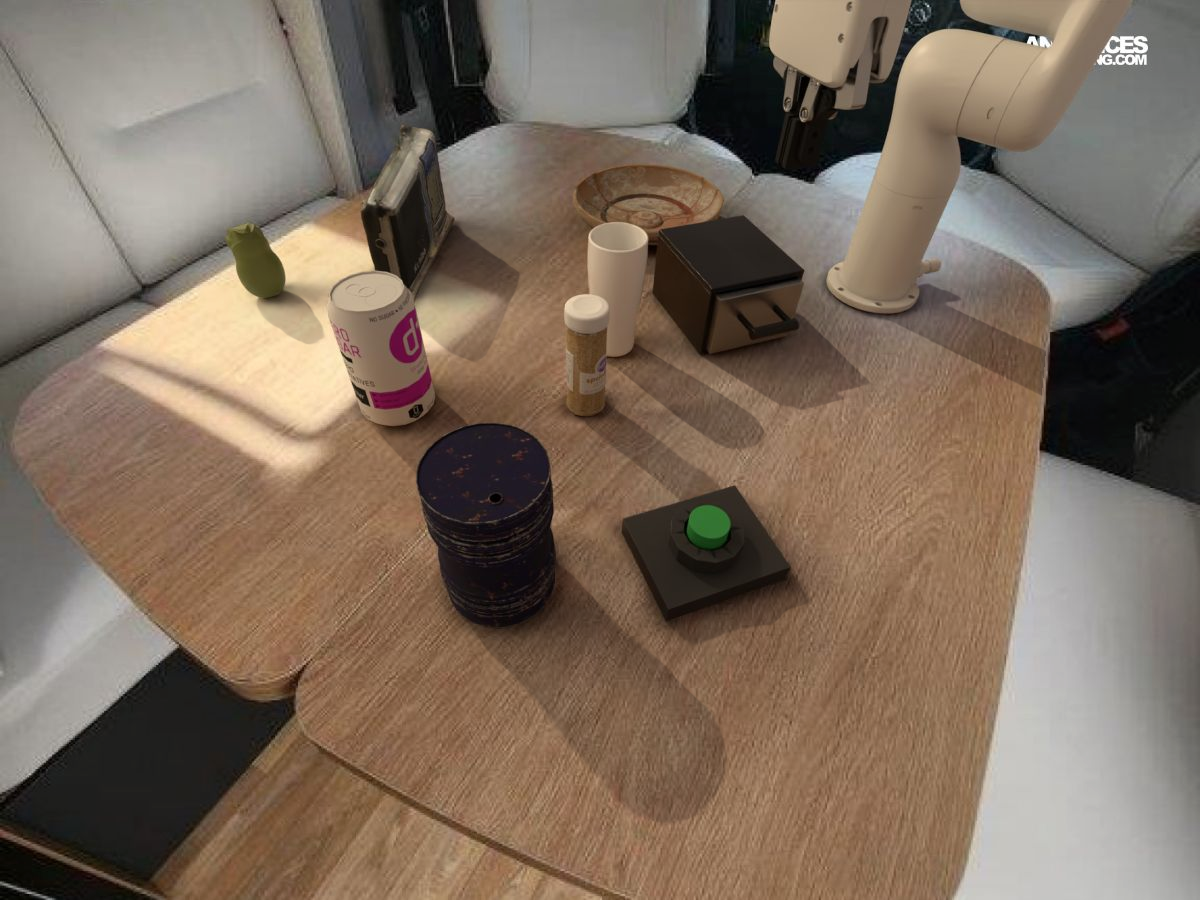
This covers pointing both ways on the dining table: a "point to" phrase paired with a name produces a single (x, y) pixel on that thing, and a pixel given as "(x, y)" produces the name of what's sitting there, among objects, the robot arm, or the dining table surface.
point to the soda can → (382, 346)
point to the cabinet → (713, 269)
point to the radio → (407, 210)
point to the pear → (256, 261)
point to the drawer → (753, 314)
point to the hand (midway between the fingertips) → (795, 164)
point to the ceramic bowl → (647, 198)
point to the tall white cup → (618, 278)
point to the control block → (702, 555)
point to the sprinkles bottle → (586, 353)
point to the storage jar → (491, 521)
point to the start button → (708, 527)
